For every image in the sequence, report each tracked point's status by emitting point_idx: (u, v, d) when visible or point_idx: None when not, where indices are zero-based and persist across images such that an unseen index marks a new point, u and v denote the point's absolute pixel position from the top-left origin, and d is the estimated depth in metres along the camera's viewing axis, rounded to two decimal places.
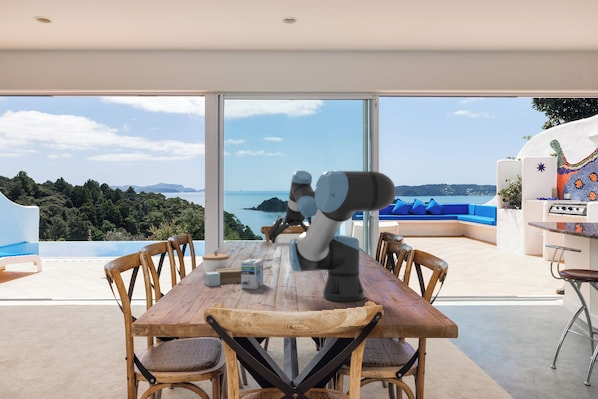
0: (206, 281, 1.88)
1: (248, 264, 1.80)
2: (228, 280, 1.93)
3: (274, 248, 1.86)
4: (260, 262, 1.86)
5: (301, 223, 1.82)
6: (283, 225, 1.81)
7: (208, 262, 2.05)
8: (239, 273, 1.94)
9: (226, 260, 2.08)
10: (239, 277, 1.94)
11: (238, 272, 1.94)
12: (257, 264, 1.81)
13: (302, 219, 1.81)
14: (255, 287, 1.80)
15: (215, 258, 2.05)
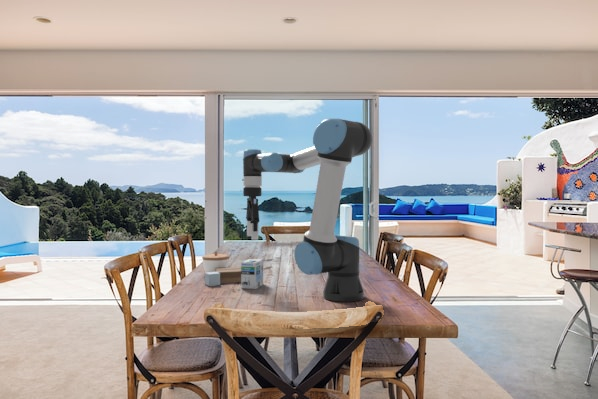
0: (206, 281, 1.88)
1: (248, 264, 1.80)
2: (228, 280, 1.93)
3: None
4: (260, 262, 1.86)
5: None
6: None
7: (208, 262, 2.05)
8: (239, 273, 1.94)
9: (226, 260, 2.08)
10: (239, 277, 1.94)
11: (238, 272, 1.94)
12: (257, 264, 1.81)
13: None
14: (255, 287, 1.80)
15: (215, 258, 2.05)
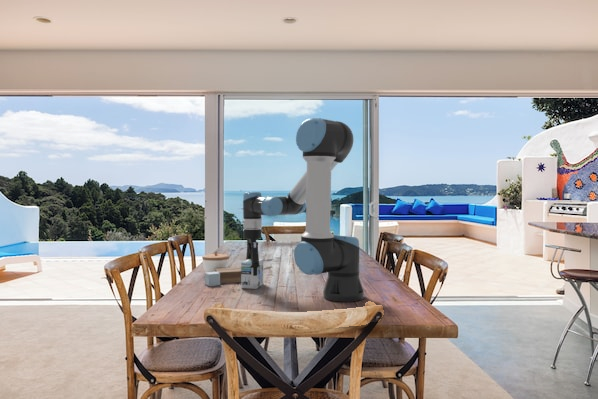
0: (206, 281, 1.88)
1: (248, 264, 1.80)
2: (229, 280, 1.93)
3: None
4: (260, 262, 1.86)
5: None
6: None
7: (208, 262, 2.05)
8: (240, 273, 1.94)
9: (226, 260, 2.08)
10: (240, 277, 1.94)
11: (239, 272, 1.94)
12: None
13: None
14: (255, 287, 1.80)
15: (215, 258, 2.05)
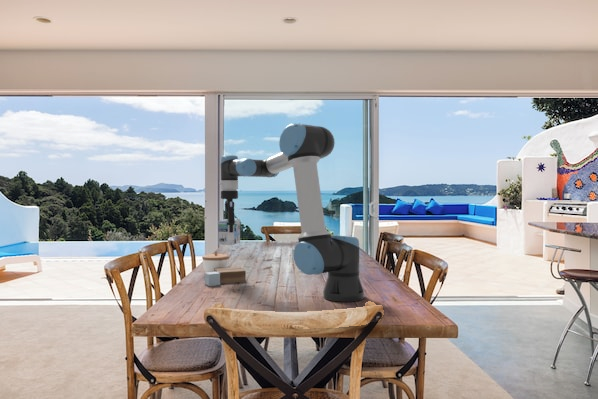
0: (206, 281, 1.88)
1: (225, 222, 1.93)
2: (229, 280, 1.93)
3: None
4: (237, 221, 1.99)
5: None
6: None
7: (208, 262, 2.05)
8: (240, 273, 1.94)
9: (226, 260, 2.08)
10: (240, 277, 1.94)
11: (239, 272, 1.94)
12: None
13: None
14: (231, 243, 1.93)
15: (215, 258, 2.05)
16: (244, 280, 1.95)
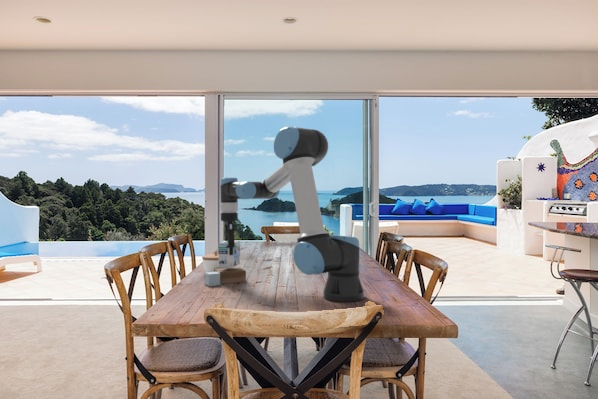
0: (206, 281, 1.88)
1: (225, 244, 1.93)
2: (230, 280, 1.93)
3: None
4: (236, 243, 1.99)
5: None
6: None
7: (208, 262, 2.05)
8: (240, 273, 1.94)
9: None
10: (240, 277, 1.94)
11: (239, 272, 1.94)
12: None
13: None
14: (231, 266, 1.93)
15: (215, 258, 2.05)
16: (244, 280, 1.95)
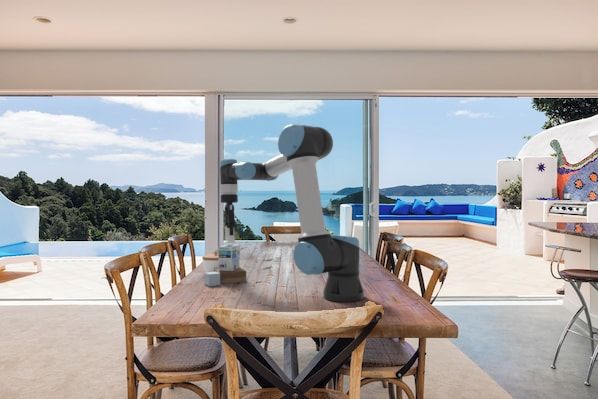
0: (206, 281, 1.88)
1: (225, 248, 1.94)
2: (230, 280, 1.93)
3: (234, 240, 1.92)
4: (236, 247, 2.00)
5: None
6: None
7: (208, 262, 2.05)
8: (241, 273, 1.95)
9: None
10: (241, 277, 1.95)
11: (240, 272, 1.94)
12: (233, 248, 1.95)
13: None
14: (231, 269, 1.94)
15: (215, 258, 2.05)
16: (245, 280, 1.95)
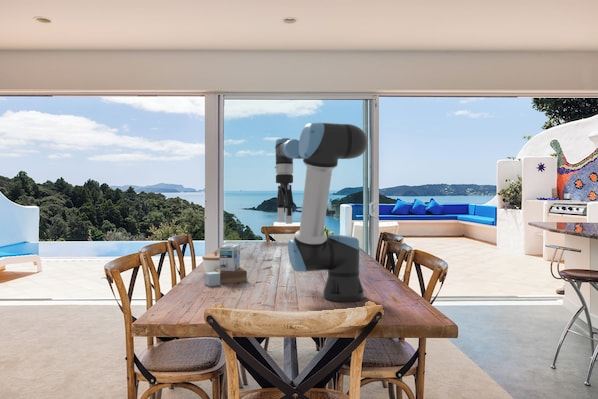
0: (206, 281, 1.88)
1: (226, 248, 1.94)
2: (231, 280, 1.93)
3: None
4: (237, 247, 2.00)
5: None
6: None
7: (208, 262, 2.05)
8: (241, 273, 1.94)
9: None
10: (241, 277, 1.94)
11: (240, 272, 1.94)
12: (234, 248, 1.95)
13: None
14: (232, 269, 1.94)
15: (215, 258, 2.05)
16: (245, 280, 1.95)
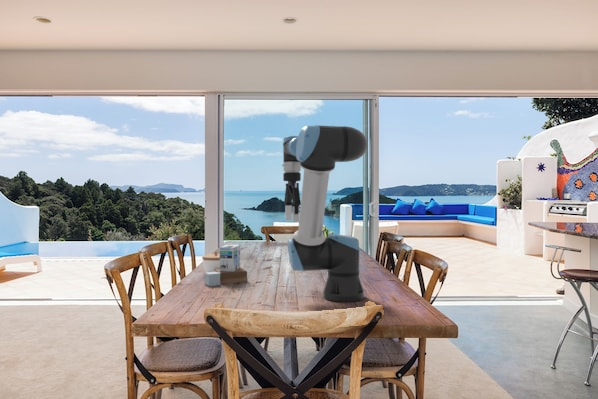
0: (206, 281, 1.88)
1: (226, 249, 1.94)
2: (231, 280, 1.93)
3: (299, 219, 1.86)
4: (237, 247, 1.99)
5: None
6: None
7: (208, 262, 2.05)
8: (242, 273, 1.94)
9: None
10: (242, 277, 1.94)
11: (241, 272, 1.94)
12: (234, 249, 1.95)
13: None
14: (233, 270, 1.93)
15: (215, 258, 2.05)
16: (246, 280, 1.95)
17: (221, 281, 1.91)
